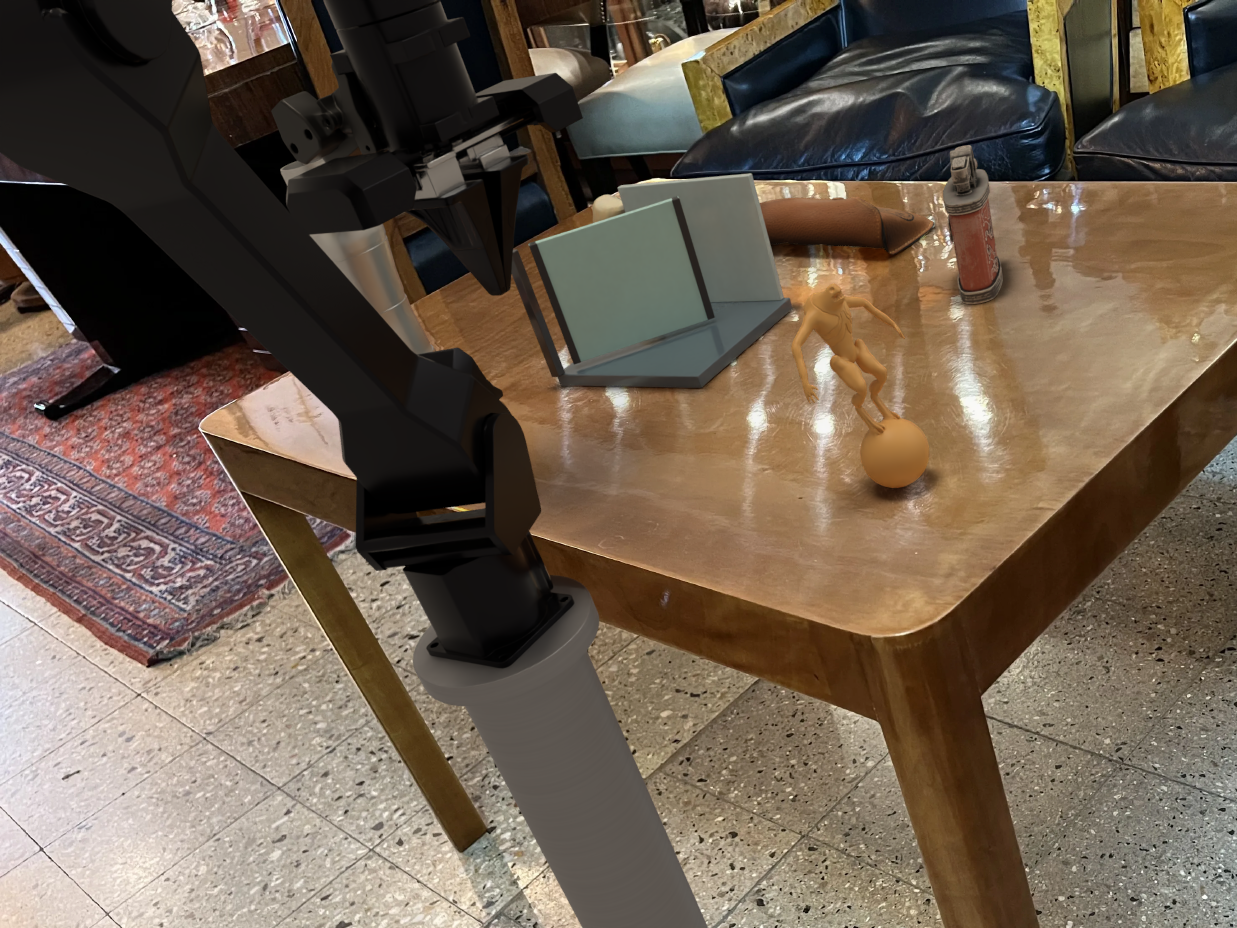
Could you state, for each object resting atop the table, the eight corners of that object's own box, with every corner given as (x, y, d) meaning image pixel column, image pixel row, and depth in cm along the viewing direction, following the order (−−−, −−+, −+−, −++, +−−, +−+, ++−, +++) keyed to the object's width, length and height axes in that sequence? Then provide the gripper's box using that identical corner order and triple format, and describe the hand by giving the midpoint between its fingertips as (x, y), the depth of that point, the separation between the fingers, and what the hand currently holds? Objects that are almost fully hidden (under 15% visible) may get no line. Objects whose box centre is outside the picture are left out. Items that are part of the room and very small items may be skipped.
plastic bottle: (365, 433, 95) (239, 182, 84) (417, 394, 100) (305, 152, 89) (426, 432, 93) (303, 172, 81) (476, 391, 97) (368, 141, 86)
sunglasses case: (941, 217, 105) (907, 165, 100) (910, 283, 104) (874, 234, 99) (790, 216, 116) (752, 169, 111) (760, 276, 115) (721, 231, 109)
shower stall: (697, 391, 87) (651, 245, 81) (556, 388, 94) (503, 253, 88) (793, 308, 97) (758, 171, 90) (658, 311, 104) (617, 184, 97)
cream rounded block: (674, 272, 112) (647, 187, 107) (647, 295, 108) (618, 207, 103) (624, 277, 114) (596, 193, 109) (596, 299, 110) (566, 213, 106)
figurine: (883, 525, 66) (835, 321, 59) (805, 506, 69) (751, 313, 63) (969, 453, 70) (933, 256, 63) (891, 439, 74) (849, 252, 67)
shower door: (715, 317, 95) (679, 197, 89) (574, 364, 93) (528, 245, 88) (713, 315, 96) (677, 195, 90) (572, 361, 94) (528, 243, 89)
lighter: (962, 268, 95) (940, 140, 90) (1004, 260, 95) (985, 131, 89) (956, 306, 89) (932, 172, 83) (1001, 299, 88) (980, 162, 83)
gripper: (407, -5, 74) (503, 241, 83) (156, 84, 61) (301, 361, 70) (539, -35, 68) (627, 232, 77) (292, 57, 56) (431, 362, 65)
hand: (500, 293), depth 72 cm, fingers closed
